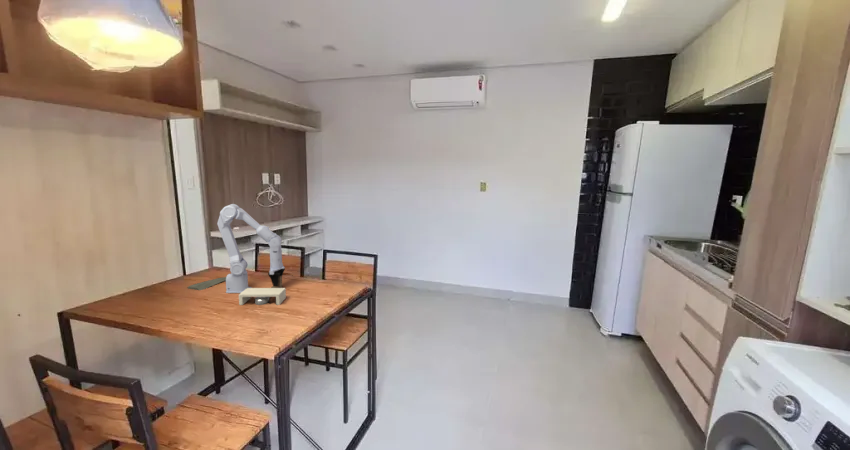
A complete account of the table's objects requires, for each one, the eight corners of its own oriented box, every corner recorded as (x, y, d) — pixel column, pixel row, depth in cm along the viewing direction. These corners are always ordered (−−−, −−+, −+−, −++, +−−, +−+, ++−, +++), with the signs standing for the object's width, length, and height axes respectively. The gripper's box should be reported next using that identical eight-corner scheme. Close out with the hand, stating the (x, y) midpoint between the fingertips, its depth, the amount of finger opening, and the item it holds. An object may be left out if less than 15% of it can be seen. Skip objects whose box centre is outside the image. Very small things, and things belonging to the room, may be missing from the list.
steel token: (252, 305, 159) (252, 300, 159) (258, 300, 165) (257, 295, 164) (266, 305, 159) (265, 300, 159) (271, 300, 165) (270, 295, 165)
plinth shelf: (239, 305, 158) (238, 294, 158) (247, 297, 167) (247, 288, 167) (279, 304, 160) (279, 294, 159) (285, 297, 169) (285, 287, 168)
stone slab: (186, 291, 179) (200, 291, 176) (185, 286, 178) (200, 286, 176) (222, 279, 200) (235, 279, 197) (221, 274, 200) (235, 274, 197)
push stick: (263, 298, 167) (262, 286, 167) (275, 286, 184) (275, 275, 184) (270, 298, 168) (270, 286, 167) (282, 286, 185) (281, 275, 184)
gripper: (279, 262, 173) (280, 288, 175) (288, 255, 187) (289, 279, 189) (264, 262, 172) (265, 288, 175) (274, 255, 187) (275, 279, 189)
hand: (277, 283), depth 182 cm, fingers open, 5 cm apart
